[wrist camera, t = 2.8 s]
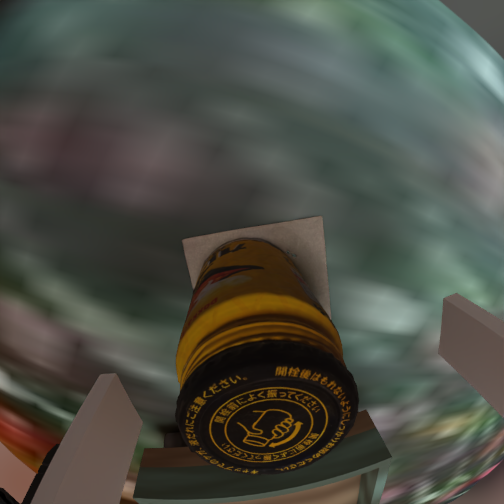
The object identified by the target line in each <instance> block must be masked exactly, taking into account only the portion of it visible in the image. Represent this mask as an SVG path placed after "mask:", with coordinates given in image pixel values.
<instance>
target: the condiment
mask: <svg viewBox="0 0 504 504" xmlns="http://www.w3.org/2000/svg"><path fill="white" fill-rule="evenodd" d="M182 243H183V248H184V252H185V257H186V261H187V265H188V269H189V274H190V278H191V282H192V286H193V297H192V300H191V304H190V307H189V311H188V314H187V318H186V321H185V324H184V327H183V330H182V333H181V336H180V341H179V344H178V350H177V354H176V369H177V375H178V382H179V383H180V394H179V396H178V400H177V409H176V412H175V418H176V422H177V424H178V428H179V430H180V432H181V435H182V438H183V440H184V442H185V443H186V444H187V445H188V447H189V449H190V451H191V452H193V453H196V454H197V455H198V456H199V457H200V458H201V459H203V460H204V461H206V462H207V463H209V464H211V465H213V466H216V467H218V468H221V469H224V470H228V471H231V472H235V473H239V474H246V475H262V474H266V475H273V474H282V473H287V472H291V471H295V470H298V469H301V468H304V467H307V466H310V465H312V464H313V463H314V462H316V461H318V460H320V459H322V458H323V457H324V456H325V455H327V454H328V453H329V452H331V451H332V450H333V449H334V448H335V447H337V446H338V444H339V443H340V442H341V441H342V440H343V439H344V438H345V436H346V435H347V434H348V433H349V431H350V430H351V428H352V427H353V426H354V423H355V419H356V416H357V413H358V403H359V398H358V391H357V385H356V383H355V381H354V378H353V375H352V374H351V373H350V372H349V371H348V370H347V367H346V365H345V363H344V360H343V350H342V344H341V340H340V337H339V334H338V331H337V330H336V328H335V326H334V324H333V323H332V320H331V311H330V298H329V286H328V274H327V265H326V250H325V241H324V230H323V221H322V216H317V217H312V218H305V219H298V220H293V221H286V222H280V223H274V224H268V225H262V226H255V227H249V228H243V229H237V230H231V231H225V232H220V233H214V234H209V235H203V236H197V237H192V238H187V239H183V240H182ZM286 251H289V252H290V254H287V253H286ZM292 254H295V255H296V258H295V257H293V256H292Z"/></svg>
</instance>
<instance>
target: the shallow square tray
mask: <svg viewBox="0 0 504 504" xmlns="http://www.w3.org/2000/svg"><path fill="white" fill-rule="evenodd" d="M391 459H392V456H391V454H390V453H389V451H388V449H387V447H386V445H385V443H384V441H383V439H382V438H381V436H380V434H379V432H378V430H377V428H376V427H375V425H374V423H373V421H372V419H371V417H370V416H369V414H368V412H367V410H364V411H361V412H358V413H357V416H356V419H355V423H354V426H353V427H352V428H351V430H350V431H349V433H348V434H347V435H346V436H345V438H344V439H343V440H342V441H341V442H340V443H339V444H338V446H337V447H335V448H334V449H333V450H332V451H331V452H329V453H328V454H327V455H325V456H324V457H323V458H322V459H320V460H318V461H316V462H314V463H313V464H312V465H310V466H307V467H304V468H301V469H298V470H295V471H291V472H287V473H282V474H273V475H266V474H262V475H246V474H239V473H235V472H231V471H228V470H224V469H221V468H218V467H216V466H213V465H211V464H209V463H207V462H206V461H204V460H203V459H201V458H200V457H199V456H198V455H197V454H196V453H193V452H191V451H190V449H189V447H188V445H187V444H186V443H185V442H184V440H183V438H182V435H181V432H176V433H167V434H166V436H165V439H164V448H145V449H144V452H143V457H142V461H141V465H140V469H139V473H138V477H137V482H136V486H135V490H134V495H133V498H134V499H135V500H136V501H137V502H138V503H139V504H379V502H380V499H381V496H382V493H383V489H384V486H385V482H386V479H387V475H388V471H389V467H390V463H391Z"/></svg>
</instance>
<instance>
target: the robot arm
mask: <svg viewBox="0 0 504 504" xmlns="http://www.w3.org/2000/svg"><path fill="white" fill-rule="evenodd" d="M438 354H439V355H440V356H442V357H443V358H444V359H445V360H446V361H447V362H448V363H449V364H450V365H451V366H452V367H453V368H454V369H455V370H456V371H457V372H458V373H459V374H460V375H461V376H462V377H463V378H464V379H465V380H466V381H467V382H468V383H469V384H471V385H472V386H473V387H474V388H475V389H476V390H477V391H478V392H479V393H480V394H481V395H482V396H483V397H484V399H485V400H486V401H487V402H488V403H489V404H490V405H491V406H492V407H493V408H494V409H495V410H496V411H497V412H498V413H499V414H500V415H501V416H502V417H503V418H504V322H503V321H502V320H500V319H498V318H497V317H495V316H494V315H492V314H491V313H489V312H487V311H486V310H484V309H482V308H481V307H479V306H478V305H476V304H474V303H473V302H471V301H469V300H468V299H466V298H464V297H462V296H461V295H459V294H457V293H455V294H453V295H450V296H448V297H445V298H443V313H442V325H441V335H440V344H439V352H438ZM142 424H143V422H142V420H141V418H140V417H139V415H138V413H137V411H136V410H135V408H134V406H133V404H132V403H131V401H130V399H129V397H128V395H127V393H126V392H125V390H124V388H123V386H122V384H121V382H120V380H119V378H118V376H117V374H116V373H113V374H100V376H99V377H98V379H97V381H96V382H95V384H94V386H93V387H92V389H91V391H90V392H89V394H88V396H87V398H86V399H85V401H84V403H83V404H82V406H81V408H80V410H79V411H78V413H77V415H76V417H75V418H74V420H73V422H72V424H71V425H70V427H69V429H68V431H67V433H66V435H65V436H64V438H63V440H62V442H61V444H56V445H55V446H54V447H53V448H52V449H51V450H50V451H49V452H48V453H47V455H46V457H45V459H44V461H43V462H42V464H43V465H41V466H40V468H39V470H38V474H36V476H35V478H34V480H33V482H32V484H31V486H30V488H29V490H28V492H27V494H26V496H25V498H24V500H23V502H22V503H21V504H119V502H120V498H121V495H122V491H123V487H124V484H125V480H126V477H127V473H128V470H129V467H130V463H131V460H132V456H133V453H134V450H135V447H136V443H137V440H138V437H139V434H140V431H141V427H142ZM0 504H19V503H18V502H17V501H16V500H15V499H14V498H13V497H12V496H11V495H10V494H9V493H8V492H6V491H5V490H4V489H3V488H0Z"/></svg>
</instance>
